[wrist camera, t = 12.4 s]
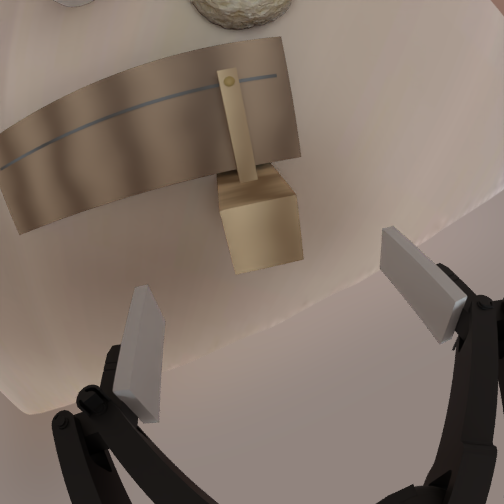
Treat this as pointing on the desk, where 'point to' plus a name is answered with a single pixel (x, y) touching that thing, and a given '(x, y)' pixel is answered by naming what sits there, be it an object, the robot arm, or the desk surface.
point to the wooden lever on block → (254, 196)
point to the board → (145, 131)
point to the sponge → (241, 11)
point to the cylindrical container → (73, 2)
